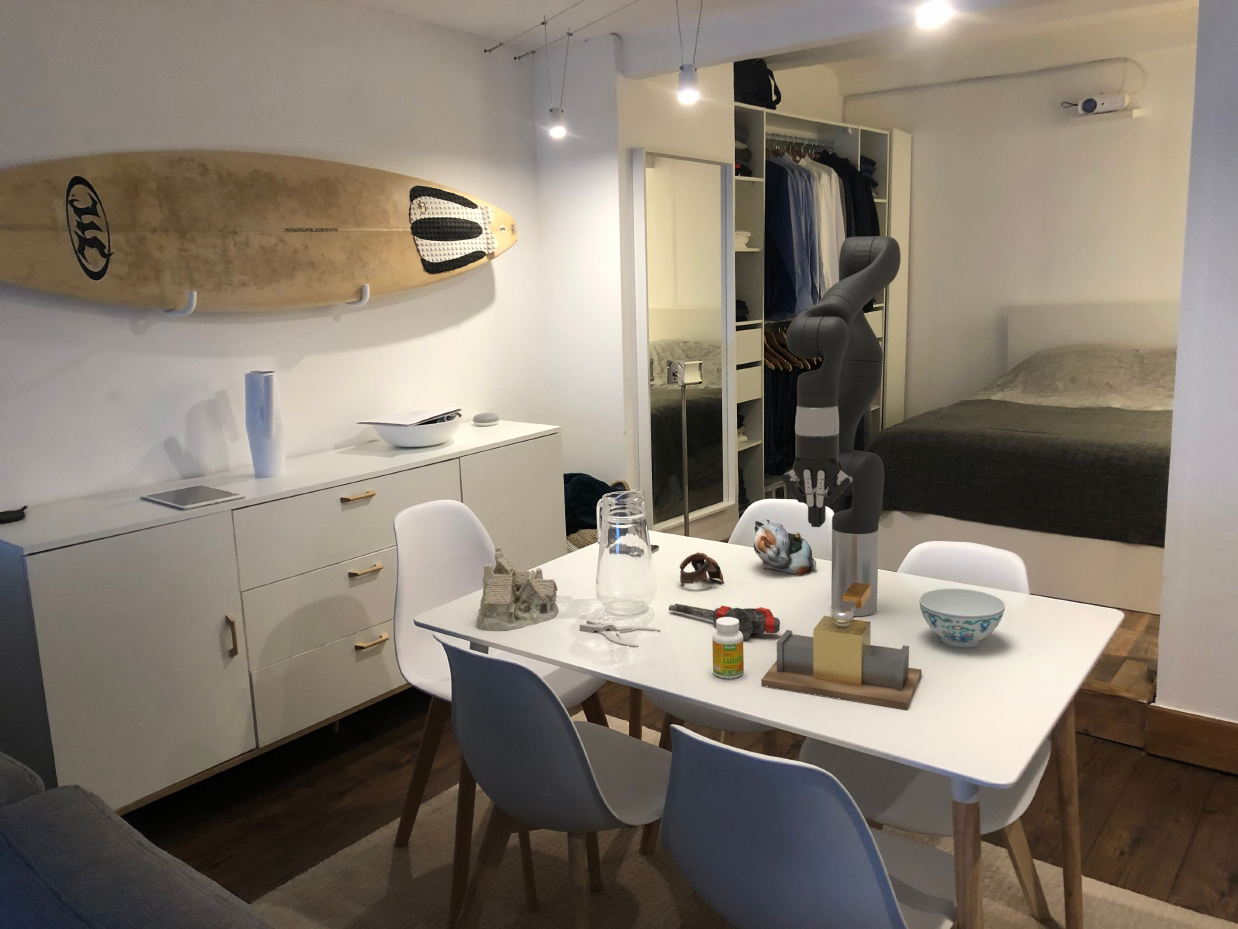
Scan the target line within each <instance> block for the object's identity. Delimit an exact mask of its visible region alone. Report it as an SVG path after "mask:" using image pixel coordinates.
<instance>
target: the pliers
mask: <svg viewBox="0 0 1238 929" xmlns="http://www.w3.org/2000/svg"><path fill="white" fill-rule="evenodd" d="M608 629H609V630H610V631H611V632H608ZM579 631H580V632H587V633H591V634H593V633H595V631H596V632H597V633H598V634H600V635H602V636H604V637H605V638H606V639H607V641H610V642H611V643H614V644H616V645H619V646H623V647H627V646H629V647H630V648H635V647H638V648H639V647H640V645H639V644H636V643H635V644H634V643H631V642H627V641H625V640H622V635H620V634H626V633H627V634H628V633H633V632H635V631H646V632H654V631H657V632H656V633H660V632H661V629H658V628H654V627H649V626H642V625H641V626H638V625H626V626H624V625H623V626H622V625H621V626H617V625H614V624H613V623H611V622H603V623H601V621H597V620H592V619H587V620H586V623H579ZM612 632H617V633H615V635H616V637H615V636H614V634H612ZM618 632H619V633H618Z"/></svg>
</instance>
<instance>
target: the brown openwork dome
mask: <svg viewBox="0 0 1238 929" xmlns="http://www.w3.org/2000/svg"><path fill="white" fill-rule="evenodd" d="M690 563H691V566H692V568H693V569H694V570H693V571H691V572H689V571H685V568H686V567H687V566H688V565H689V564H690ZM679 569H680V571H679V573H680V575H679V580H680V584H681V585H684V586H685V585H686V584H689V585H691V584H694V583H698V582H700V581H709V578H712V579H711V580H713V579H717V580H720V581H721V585H722V584H724V585H725V580H724V576H723V575H724V574H723V573H722V569H721V566H720V565H719V563H718V562H717V561H716V560H715V559H713V558H711V557H710V556H708V555H707V554H706V553H703V552H699V551H698V552H696V553H693V554H691V555H689V556H687V557H686V558H685V559H683V561H682V562H681V563H680V564H679Z"/></svg>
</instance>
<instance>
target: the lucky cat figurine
mask: <svg viewBox="0 0 1238 929" xmlns="http://www.w3.org/2000/svg"><path fill="white" fill-rule="evenodd" d="M754 524H755V525H754V533H755V534H754V536H753V539H752V540H753V550H754V552H755V554H756V555H757V556H758V557H759V559H760V560H761V561H762V566H763V569H764V570H767V569H768V570H772V569H774V570H776V571H781V572H785V573H790V574H795V575H798V576H803V575H808V574H810V573H812V571H814V570H816V568H817V561H816V560H815V558H813V550H812V547H811V545H810V544H809V542H808V541H807V540H806V539H804V538H803V537H801V534H800V532H798V531H796V532H794V533H793V532H788V531H787V530H786V529H785V528H784V525H783V524H781V523H778V522H770V520H769V519H768V518H765V519H763V520H762V522H761V521H758V520H755V521H754Z"/></svg>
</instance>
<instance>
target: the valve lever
mask: <svg viewBox="0 0 1238 929" xmlns="http://www.w3.org/2000/svg"><path fill="white" fill-rule="evenodd" d="M870 595H871V584H865V583H855V582H853V583H852V584H851V586H850V587H849V588H848V590H847V591H846V592H845V594H844V595H843V604H842V605H841V606H840V608H837V609H833V610H832V609H831V616H830V617H831V618H832V620H834V621H836V622H851V621H853V619H854V616H853V613H854V610H855V609H856V608H859V609H861V608H862V607H863V605H864V604H865V602H866V601H867V599H868V598H869V597H870Z"/></svg>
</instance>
